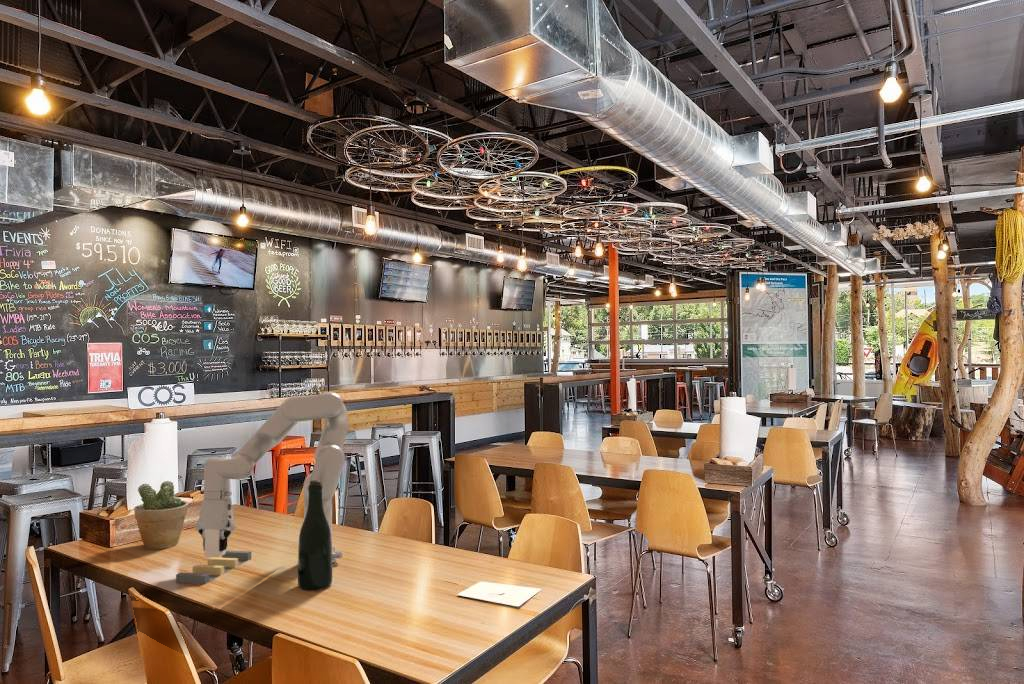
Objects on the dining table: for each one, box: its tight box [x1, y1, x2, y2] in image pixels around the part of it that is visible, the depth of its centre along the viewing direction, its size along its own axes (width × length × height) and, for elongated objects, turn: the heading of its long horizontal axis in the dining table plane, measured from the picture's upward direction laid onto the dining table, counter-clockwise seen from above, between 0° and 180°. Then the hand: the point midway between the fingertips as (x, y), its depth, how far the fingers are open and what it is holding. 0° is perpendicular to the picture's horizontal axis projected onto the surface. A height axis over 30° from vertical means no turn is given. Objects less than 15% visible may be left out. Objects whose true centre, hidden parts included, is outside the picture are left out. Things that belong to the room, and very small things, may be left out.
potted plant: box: [133, 480, 189, 551], centre depth 247 cm, size 18×19×25 cm
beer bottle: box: [297, 480, 333, 592], centre depth 200 cm, size 10×10×33 cm
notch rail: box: [175, 549, 252, 585], centre depth 211 cm, size 10×26×4 cm, turn 172°
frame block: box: [203, 529, 227, 558], centre depth 212 cm, size 5×4×9 cm
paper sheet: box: [456, 581, 543, 607], centre depth 197 cm, size 24×29×1 cm
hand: (215, 549), depth 211 cm, fingers closed on frame block, 5 cm apart
